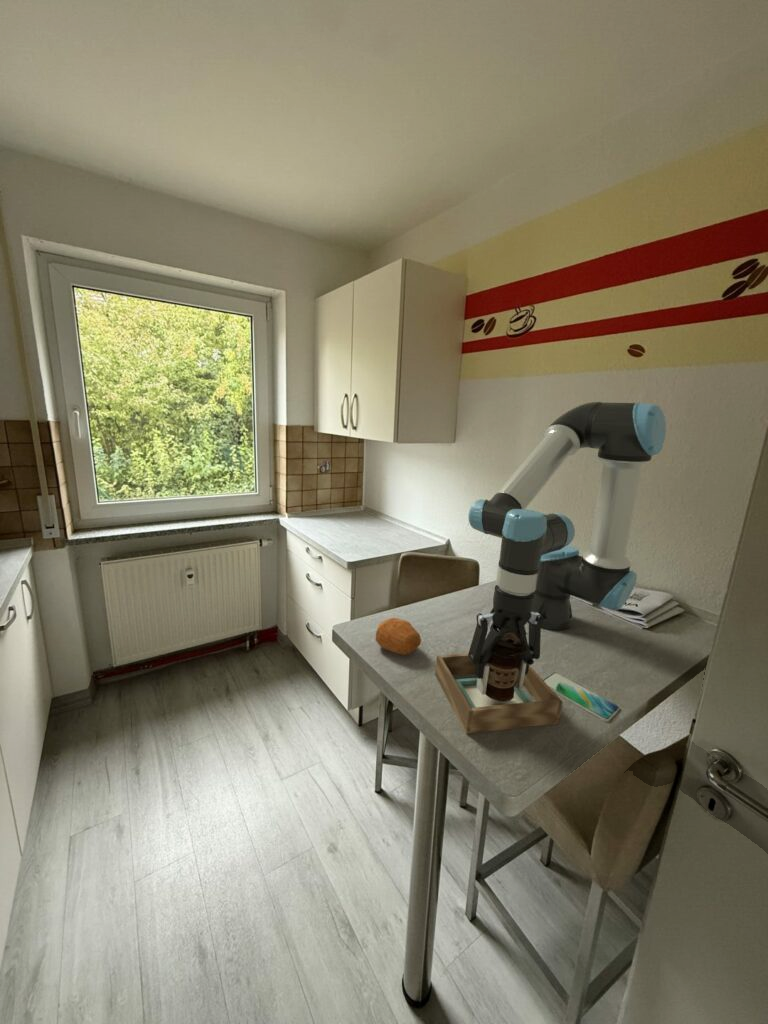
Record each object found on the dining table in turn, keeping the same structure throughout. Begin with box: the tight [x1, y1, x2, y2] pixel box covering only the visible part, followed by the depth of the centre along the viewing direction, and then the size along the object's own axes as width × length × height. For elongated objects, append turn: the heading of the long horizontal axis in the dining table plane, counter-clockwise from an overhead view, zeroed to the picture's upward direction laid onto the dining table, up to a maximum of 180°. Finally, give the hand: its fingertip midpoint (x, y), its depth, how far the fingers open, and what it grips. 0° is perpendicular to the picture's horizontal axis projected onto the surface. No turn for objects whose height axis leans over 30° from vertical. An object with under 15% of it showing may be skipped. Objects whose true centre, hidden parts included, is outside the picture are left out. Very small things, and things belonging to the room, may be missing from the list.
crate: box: [434, 653, 564, 735], centre depth 88 cm, size 20×18×5 cm
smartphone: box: [542, 672, 620, 723], centre depth 91 cm, size 7×1×15 cm
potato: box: [375, 617, 422, 656], centre depth 103 cm, size 9×11×8 cm
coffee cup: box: [486, 632, 527, 702], centre depth 84 cm, size 9×8×13 cm
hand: (499, 688), depth 85 cm, fingers closed on coffee cup, 8 cm apart
